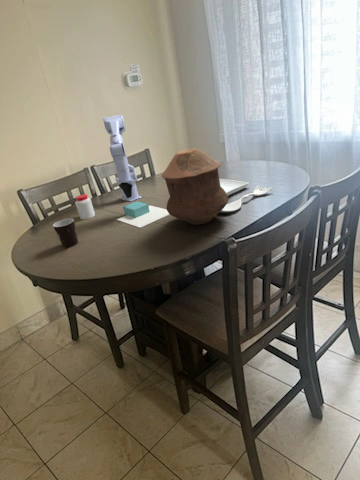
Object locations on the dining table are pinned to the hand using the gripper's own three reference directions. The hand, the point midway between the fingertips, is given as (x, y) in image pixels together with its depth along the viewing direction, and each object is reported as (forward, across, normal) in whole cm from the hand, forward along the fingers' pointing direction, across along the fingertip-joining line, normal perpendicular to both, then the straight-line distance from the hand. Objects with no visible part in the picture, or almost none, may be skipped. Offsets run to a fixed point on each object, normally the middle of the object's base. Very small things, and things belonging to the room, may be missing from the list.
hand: (129, 197), depth 168 cm
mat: (+8, +11, 0) cm, 14 cm away
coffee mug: (+8, +7, -37) cm, 39 cm away
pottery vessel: (+8, +40, +8) cm, 42 cm away
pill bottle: (+8, -20, -15) cm, 26 cm away
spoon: (+8, +44, +33) cm, 55 cm away
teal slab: (+6, -1, 0) cm, 6 cm away
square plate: (+8, +19, +37) cm, 42 cm away
